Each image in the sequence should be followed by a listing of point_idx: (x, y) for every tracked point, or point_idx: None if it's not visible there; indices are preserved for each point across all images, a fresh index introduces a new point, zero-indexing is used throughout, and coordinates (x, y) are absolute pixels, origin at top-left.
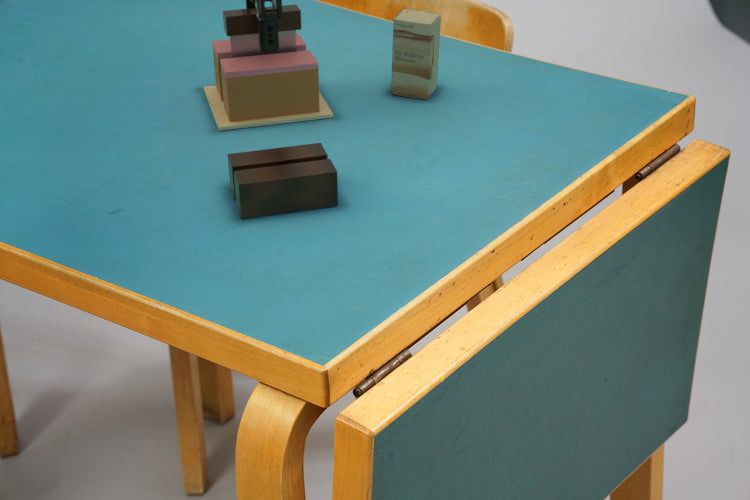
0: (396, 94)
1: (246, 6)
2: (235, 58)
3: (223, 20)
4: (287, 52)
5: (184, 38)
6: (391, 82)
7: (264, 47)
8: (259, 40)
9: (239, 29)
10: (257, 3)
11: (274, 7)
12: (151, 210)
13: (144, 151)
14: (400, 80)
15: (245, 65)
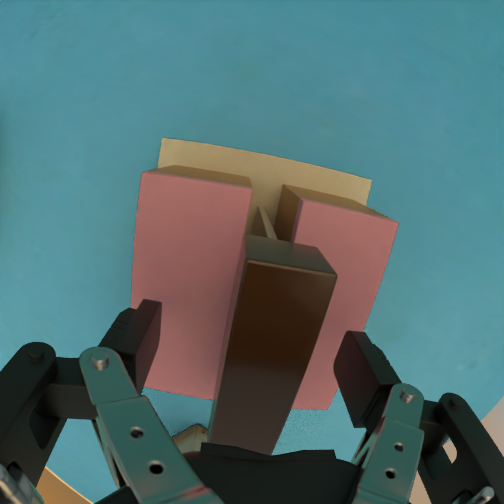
0: (191, 427)
1: (379, 368)
2: (233, 232)
3: (320, 258)
4: (217, 361)
5: None
6: (195, 436)
7: (127, 309)
8: (145, 313)
9: (235, 287)
10: (89, 398)
11: (95, 426)
12: (4, 23)
13: (150, 7)
14: (184, 445)
15: (168, 239)
